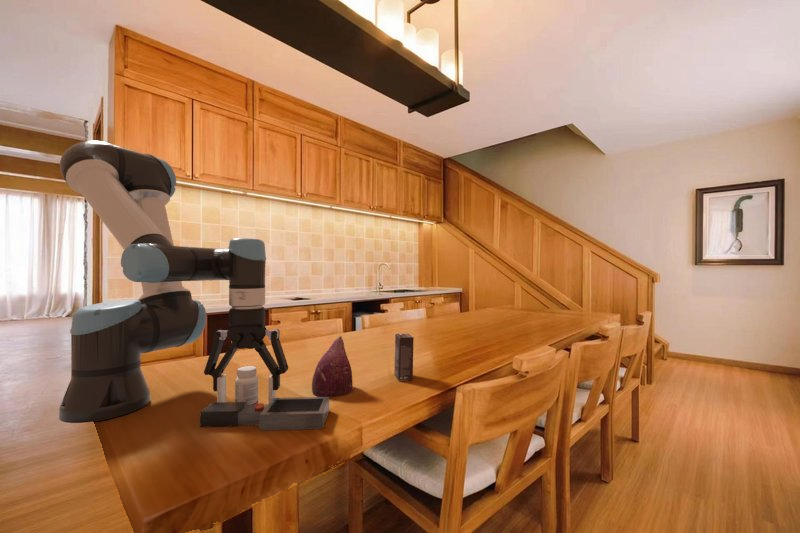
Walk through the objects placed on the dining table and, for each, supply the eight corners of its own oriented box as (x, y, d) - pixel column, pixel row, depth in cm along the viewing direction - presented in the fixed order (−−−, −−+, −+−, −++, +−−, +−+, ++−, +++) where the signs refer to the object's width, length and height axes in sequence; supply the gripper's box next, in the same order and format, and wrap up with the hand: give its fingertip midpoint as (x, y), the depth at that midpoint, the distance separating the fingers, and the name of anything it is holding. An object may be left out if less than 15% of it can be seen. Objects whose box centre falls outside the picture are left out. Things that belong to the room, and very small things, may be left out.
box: (414, 380, 95) (414, 337, 95) (398, 381, 94) (398, 337, 94) (408, 373, 101) (408, 333, 101) (393, 374, 100) (394, 333, 100)
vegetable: (336, 393, 94) (344, 337, 98) (359, 398, 86) (366, 338, 90) (302, 392, 87) (311, 333, 91) (324, 398, 79) (333, 333, 83)
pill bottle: (262, 401, 79) (262, 365, 79) (251, 410, 74) (251, 371, 74) (242, 401, 80) (242, 365, 80) (230, 409, 75) (230, 371, 75)
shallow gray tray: (194, 432, 65) (194, 415, 65) (216, 413, 73) (216, 398, 73) (322, 428, 66) (322, 412, 66) (329, 410, 74) (329, 395, 75)
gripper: (185, 309, 73) (184, 412, 73) (294, 308, 74) (294, 410, 74) (203, 305, 80) (203, 399, 80) (302, 304, 82) (302, 397, 81)
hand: (246, 404), depth 77 cm, fingers open, 10 cm apart
